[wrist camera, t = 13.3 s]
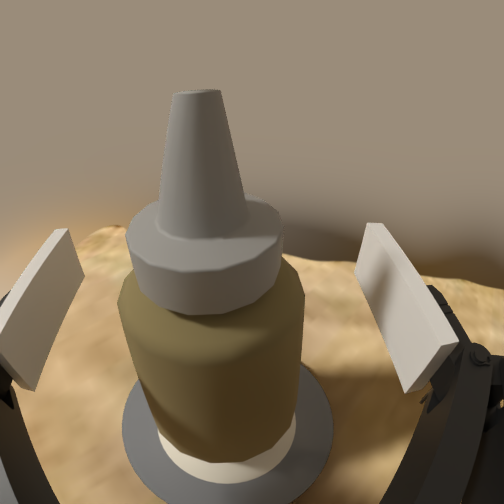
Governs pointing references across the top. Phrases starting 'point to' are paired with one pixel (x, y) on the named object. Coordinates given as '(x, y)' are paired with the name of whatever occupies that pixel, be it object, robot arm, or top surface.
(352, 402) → the top surface
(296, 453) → the coaster
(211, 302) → the squeeze bottle
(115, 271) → the top surface
